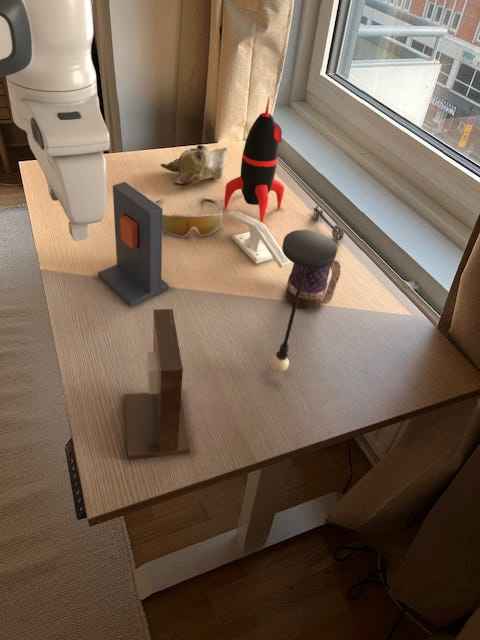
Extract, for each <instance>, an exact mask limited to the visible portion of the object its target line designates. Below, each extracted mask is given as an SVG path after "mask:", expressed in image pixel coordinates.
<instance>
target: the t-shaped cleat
mask: <svg viewBox="0 0 480 640" xmlns="http://www.w3.org/2000/svg"><path fill="white" fill-rule="evenodd" d="M227 217H229V218H231V219H233V220H235V221H236V222H239V223H241V224H242V225H245V226H246V227H248V228H249V231H246V232H242V233H239V234H234V235H232V236H231V239H232V240H233V241H234V242H235V243H236V244H237V246H239V248H240V249H242V251H243V252H244V253H245V254H246V255H247V256H248V257H249V258H250V259H251V260H252V261H253V262H254V263H255V264H259V263H264V262H267V261H270V260H274V261H275V263H276V264H277V266H278V267H279V269H283V268H286V267H289V266H290V265H291V261H290V260H289V259H288V258H287V257H286V256H285V255H284V253H283V250H282V247H281V246H280V245H279V244H278V242H277V241H276V239H275V238H274V237H273V235H272V234H271V232H270V231H269V229H268V227H267V226H266V225H265V224H264V222H263V223H261V222H260V220H257V219H255V218H253V217H251V216H250V215H247V214H245V213H243V212H241V211H239V210H237V209H236V210H231V211H228V212H227Z"/></svg>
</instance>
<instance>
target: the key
mask: <svg viewBox="0 0 480 640" xmlns="http://www.w3.org/2000/svg"><path fill="white" fill-rule="evenodd" d="M318 208H319V206H318V205H316V206H315V207H313V215H312V216H313V217H314V218H315V219H316V220H317V221H319V220H320V219H321V220H323V222H325V224H327V225H328V226H329V227H330V228H331V229H332V231H331V235H332V238H333V239H334V240H335V241H336V242H339V241H342V240H343V239H344V235H345V231H344V228H343V227H342V226H341V225H340V224H336V225H333V224H332V223H331V222H330V220H328V218H327V217H326V216H325V215H324V214H323V213H324V211H323V210H322V209H320V210H319V209H318Z"/></svg>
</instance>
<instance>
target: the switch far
mask: <svg viewBox="0 0 480 640" xmlns="http://www.w3.org/2000/svg"><path fill="white" fill-rule="evenodd" d="M120 224H121V240H122V241H123V242H125V243H126V244H127V245H128V246H130V247H131V248H132V249H133V248H135V247H138V224H137V223H136V222H134V221H133V220H132V219H130V218H129V217H128V216H126V215H125V216H123V217H120Z"/></svg>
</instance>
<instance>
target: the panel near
mask: <svg viewBox="0 0 480 640" xmlns="http://www.w3.org/2000/svg"><path fill="white" fill-rule="evenodd" d="M152 312H153V318H152V319H153V322H152V323H153V329H152V338H153V339H152V343H153V344H152V347H153V348H152V349H153V350H152V352H153V351H156V356H157V365H158V394H149V392H141V393H128V394H124V409H125V411H124V412H125V427H126V428H125V429H126V446H127V460H129V461H130V460H131V461H132V460H138V459H148V458H158V457H166V456H174V455H175V456H176V455H183V454H190V453H191V452H190V451H191V447H190V441H189V433H188V429H187V421H186V414H185V408H184V401H183V396H182V391H183V390H182V389H183V376H184V373H183V372H184V368H183V362H182V355H181V350H180V349H181V348H180V344H179V337H178V331H177V324H176V319H175V311H174V308H161V309H159V308H158V309H153V310H152Z"/></svg>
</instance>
